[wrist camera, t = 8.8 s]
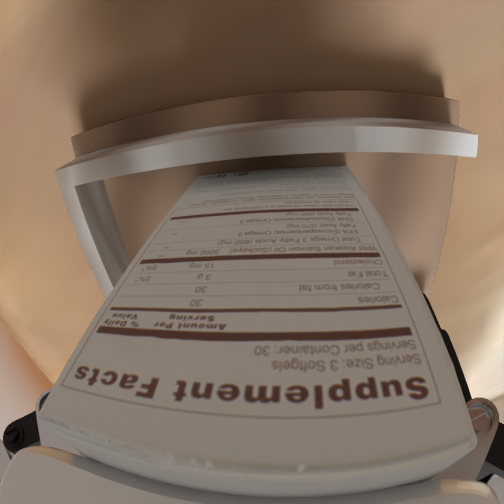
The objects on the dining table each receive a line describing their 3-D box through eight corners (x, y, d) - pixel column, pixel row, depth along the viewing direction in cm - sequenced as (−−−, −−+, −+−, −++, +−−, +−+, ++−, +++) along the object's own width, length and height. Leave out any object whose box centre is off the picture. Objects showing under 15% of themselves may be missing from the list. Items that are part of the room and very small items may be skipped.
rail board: (445, 97, 12) (487, 109, 8) (416, 304, 19) (432, 345, 16) (85, 131, 14) (41, 150, 11) (147, 313, 22) (128, 352, 19)
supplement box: (344, 286, 17) (374, 516, 6) (218, 290, 18) (161, 507, 7) (351, 161, 13) (494, 446, 2) (194, 169, 14) (22, 421, 3)
